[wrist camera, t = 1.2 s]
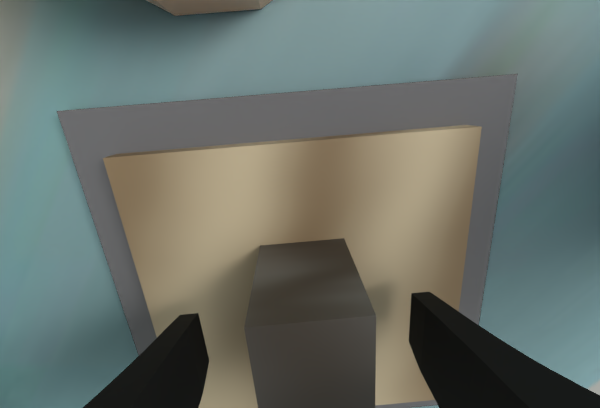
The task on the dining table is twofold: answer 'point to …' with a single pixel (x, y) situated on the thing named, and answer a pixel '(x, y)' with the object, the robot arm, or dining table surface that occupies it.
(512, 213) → the dining table surface
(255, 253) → the lid
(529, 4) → the dining table surface
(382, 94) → the mat
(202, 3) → the bowl
